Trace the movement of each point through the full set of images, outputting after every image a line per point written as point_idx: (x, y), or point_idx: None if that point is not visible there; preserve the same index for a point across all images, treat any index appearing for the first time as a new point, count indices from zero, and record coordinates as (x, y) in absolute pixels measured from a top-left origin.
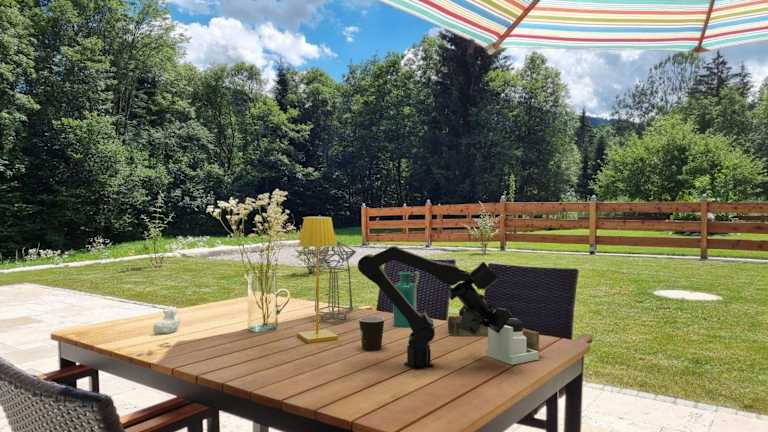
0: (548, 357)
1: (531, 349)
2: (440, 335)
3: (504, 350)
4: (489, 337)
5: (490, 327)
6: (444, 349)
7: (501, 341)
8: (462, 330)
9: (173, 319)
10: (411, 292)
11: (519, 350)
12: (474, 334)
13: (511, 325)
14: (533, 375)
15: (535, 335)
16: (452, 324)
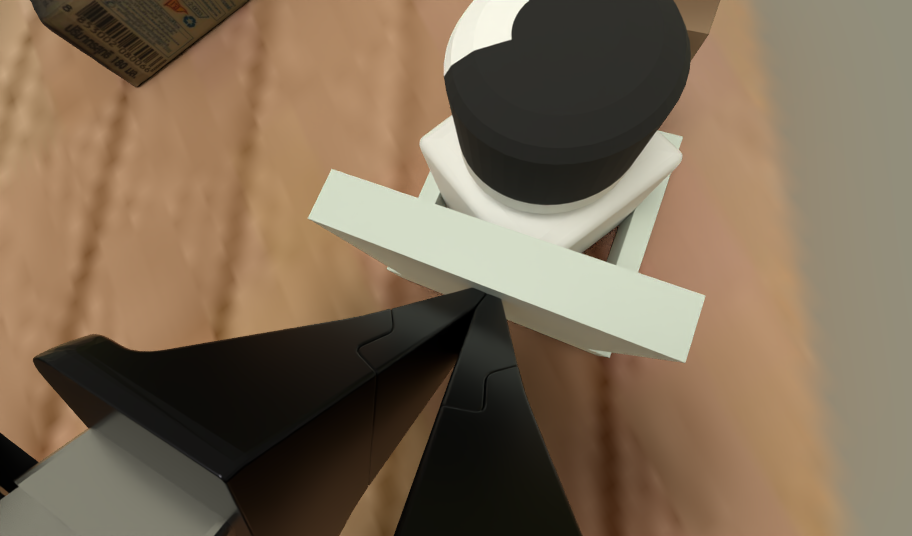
0: None
1: None
2: (95, 108)
3: (545, 330)
4: (390, 265)
5: (421, 409)
6: (184, 303)
7: (519, 316)
8: (154, 32)
9: None
10: None
11: (604, 230)
12: (220, 12)
13: (596, 168)
14: (797, 462)
15: (699, 41)
16: (74, 35)
